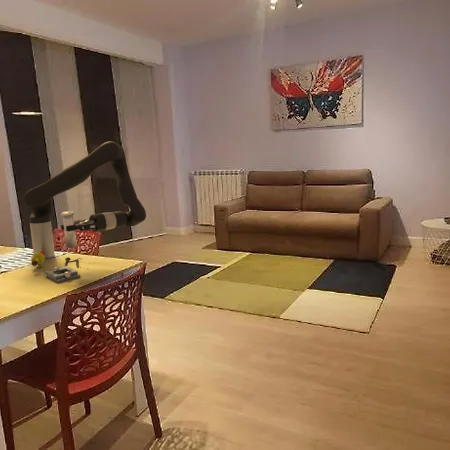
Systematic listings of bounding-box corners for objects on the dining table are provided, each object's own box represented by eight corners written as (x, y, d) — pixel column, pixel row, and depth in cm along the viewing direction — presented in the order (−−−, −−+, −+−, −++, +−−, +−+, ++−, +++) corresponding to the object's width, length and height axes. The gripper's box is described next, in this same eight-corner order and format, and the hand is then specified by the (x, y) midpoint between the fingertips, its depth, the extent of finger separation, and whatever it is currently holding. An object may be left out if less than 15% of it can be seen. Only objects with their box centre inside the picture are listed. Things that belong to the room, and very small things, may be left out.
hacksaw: (65, 260, 192) (65, 257, 191) (88, 257, 195) (88, 254, 195) (63, 274, 169) (62, 271, 169) (89, 271, 172) (88, 268, 172)
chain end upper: (44, 276, 166) (43, 269, 165) (66, 271, 172) (65, 264, 172) (56, 282, 158) (55, 274, 158) (78, 276, 164) (77, 269, 164)
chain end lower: (46, 277, 165) (45, 270, 164) (68, 272, 171) (67, 265, 170) (58, 283, 157) (57, 275, 156) (80, 277, 163) (79, 270, 162)
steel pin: (62, 246, 166) (58, 213, 163) (74, 243, 169) (70, 210, 166) (68, 248, 163) (64, 214, 159) (80, 245, 166) (76, 212, 163)
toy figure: (36, 262, 187) (34, 248, 186) (49, 261, 188) (47, 247, 187) (27, 274, 170) (25, 258, 169) (41, 272, 171) (39, 257, 170)
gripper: (94, 211, 179) (55, 217, 167) (110, 214, 169) (70, 220, 157) (95, 228, 180) (57, 234, 168) (112, 232, 170) (72, 239, 158)
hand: (64, 228), depth 163 cm, fingers closed on steel pin, 4 cm apart
